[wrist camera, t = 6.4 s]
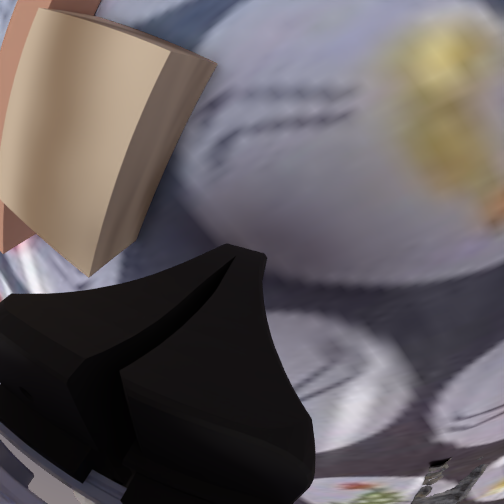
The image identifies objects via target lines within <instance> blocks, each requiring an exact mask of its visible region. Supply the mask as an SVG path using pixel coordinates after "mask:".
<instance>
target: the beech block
mask: <svg viewBox="0 0 504 504" xmlns="http://www.w3.org/2000/svg"><path fill="white" fill-rule="evenodd" d="M217 65H218V64H217V63H215V62H213V61H211V60H209V59H207V58H204V57H202V56H200V55H198V54H196V53H193V52H191V51H189V50H187V49H184V48H182V47H180V46H177V45H175V44H173V43H170V42H168V41H165V40H163V39H160V38H158V37H155V36H153V35H150V34H147V33H145V32H142V31H139V30H136V29H134V28H131V27H128V26H125V25H122V24H119V23H116V22H113V21H110V20H107V19H103V18H100V17H97V16H92V15H87V14H81V13H75V12H69V11H62V10H55V9H47V8H38V11H37V13H36V16H35V18H34V21H33V23H32V26H31V28H30V31H29V34H28V37H27V39H26V42H25V45H24V48H23V51H22V54H21V57H20V61H19V64H18V67H17V71H16V74H15V78H14V82H13V86H12V90H11V94H10V98H9V103H8V107H7V112H6V117H5V122H4V128H3V133H2V140H1V146H0V200H1V201H2V202H3V203H4V204H5V205H6V206H7V207H8V208H9V209H10V210H11V211H13V212H14V213H15V214H16V215H17V216H18V217H19V218H20V219H21V220H22V221H23V222H24V223H25V224H26V225H27V226H29V227H30V228H31V229H32V230H33V231H34V232H35V233H36V234H37V235H38V236H40V237H41V238H42V239H43V240H44V241H45V242H46V243H48V244H49V245H50V246H51V247H52V248H53V249H54V250H56V251H57V252H58V253H59V254H60V255H62V256H63V257H64V258H65V259H66V260H68V261H69V262H70V263H71V264H72V265H74V266H75V267H76V268H77V269H79V270H80V271H81V272H82V273H84V274H85V275H86V276H87V277H90V276H92V275H93V274H94V273H95V272H97V271H98V270H99V269H100V268H102V267H103V266H104V265H105V264H107V263H108V262H109V261H110V260H112V259H113V258H114V257H115V256H117V255H118V254H119V253H120V252H122V251H123V250H124V249H126V248H127V247H128V246H129V245H131V244H132V243H133V242H135V241H136V239H137V236H138V234H139V231H140V229H141V226H142V223H143V221H144V218H145V216H146V213H147V211H148V208H149V206H150V203H151V201H152V198H153V196H154V194H155V191H156V189H157V186H158V184H159V182H160V179H161V177H162V175H163V173H164V170H165V168H166V166H167V164H168V161H169V159H170V157H171V155H172V153H173V150H174V148H175V146H176V144H177V142H178V140H179V138H180V136H181V133H182V131H183V129H184V127H185V125H186V123H187V121H188V119H189V117H190V115H191V113H192V111H193V109H194V107H195V105H196V103H197V101H198V100H199V98H200V96H201V94H202V92H203V90H204V88H205V86H206V84H207V83H208V81H209V79H210V77H211V75H212V73H213V72H214V70H215V68H216V66H217Z"/></svg>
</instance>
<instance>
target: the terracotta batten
mask: <svg viewBox="0 0 504 504" xmlns="http://www.w3.org/2000/svg"><path fill="white" fill-rule="evenodd" d="M100 1H101V0H18V1H17V3H16V6H15V9H14V11H13V14H12V16H11V19H10V22H9V25H8V28H7V31H6V34H5V37H4V40H3V43H2V46H1V50H0V146H1V140H2V133H3V128H4V122H5V117H6V112H7V107H8V103H9V98H10V94H11V90H12V86H13V82H14V78H15V74H16V71H17V67H18V64H19V61H20V57H21V54H22V51H23V48H24V45H25V42H26V39H27V37H28V34H29V31H30V28H31V26H32V23H33V21H34V18H35V16H36V13H37V11H38V8H47V9H55V10H62V11H69V12H75V13H81V14H87V15H92V16H94V14H95V12H96V10H97V8H98V5H99V3H100ZM35 234H36V233H35V232H34V231H33V230H32V229H31V228H30V227H29V226H27V225H26V224H25V223H24V222H23V221H22V220H21V219H20V218H19V217H18V216H17V215H16V214H15V213H14V212H13V211H11V210H10V209H9V208H8V207H7V206H6V205H5V204H4V203H3V202H2V201H1V200H0V251H1V252H2V253H3V254H4V253H6V252H7V251H9V250H10V249H12V248H13V247H15V246H17V245H18V244H20V243H22V242H23V241H25V240H26V239H28V238H30V237H31V236H33V235H35Z"/></svg>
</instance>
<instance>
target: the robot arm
mask: <svg viewBox="0 0 504 504" xmlns="http://www.w3.org/2000/svg"><path fill="white" fill-rule="evenodd" d="M266 261H267V257H266V255H265V254H264V253H260V252H257V251H253V250H249V249H245V248H242V247H238V246H234V245H231V244H224V245H222V246H219V247H217V248H215V249H213V250H211V251H209V252H206V253H204V254H202V255H200V256H198V257H195V258H193V259H191V260H189V261H187V262H184V263H182V264H179V265H177V266H174V267H172V268H169V269H167V270H164V271H161V272H159V273H156V274H153V275H150V276H147V277H144V278H140V279H137V280H133V281H130V282H126V283H122V284H117V285H112V286H107V287H102V288H97V289H91V290H84V291H76V292H65V293H52V294H10V295H9V296H8V297H6V298H5V299H4V300H3V301H1V302H0V383H1V384H0V434H2V435H3V436H4V437H5V438H6V439H7V440H8V441H9V442H10V443H12V444H13V445H14V446H15V447H16V448H17V449H19V450H20V451H21V452H22V453H24V454H25V455H26V456H27V457H28V458H30V459H31V460H32V461H33V462H35V463H36V464H38V465H39V466H40V467H41V468H43V469H44V470H46V471H47V472H48V473H49V474H51V475H52V476H54V477H55V478H57V479H58V480H59V481H61V482H62V483H64V484H65V485H67V486H68V487H70V488H72V489H73V490H74V491H76V492H78V493H79V494H81V495H82V496H84V497H86V498H87V499H89V500H91V501H92V502H94V503H96V504H293V503H294V502H295V501H296V500H297V499H298V498H299V497H300V496H301V495H302V494H303V493H304V492H305V491H306V490H307V489H308V488H309V487H310V485H311V484H312V482H313V479H314V474H315V440H314V432H313V424H312V419H311V417H310V415H309V414H308V412H307V411H306V409H305V408H304V406H303V404H302V403H301V401H300V399H299V398H298V396H297V394H296V392H295V391H294V389H293V387H292V385H291V383H290V381H289V379H288V377H287V375H286V373H285V371H284V368H283V366H282V363H281V361H280V359H279V356H278V354H277V351H276V349H275V346H274V343H273V340H272V337H271V334H270V330H269V326H268V322H267V318H266V312H265V306H264V300H263V286H262V280H263V275H264V270H265V266H266ZM33 478H34V474H33V473H32V472H31V471H30V470H29V469H28V468H27V467H26V466H25V465H24V464H22V463H21V462H20V461H19V460H18V459H17V458H16V457H15V456H14V455H13V454H12V452H10V450H9V449H8V448H7V447H6V446H5V445H4V443H3V442H2V441H1V440H0V504H47V503H46V502H45V501H43V500H42V499H41V498H39V497H38V496H37V495H35V494H34V493H33V492H31V491H30V490H29V489H28V485H29V483H30V482H31V480H32V479H33Z"/></svg>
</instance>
